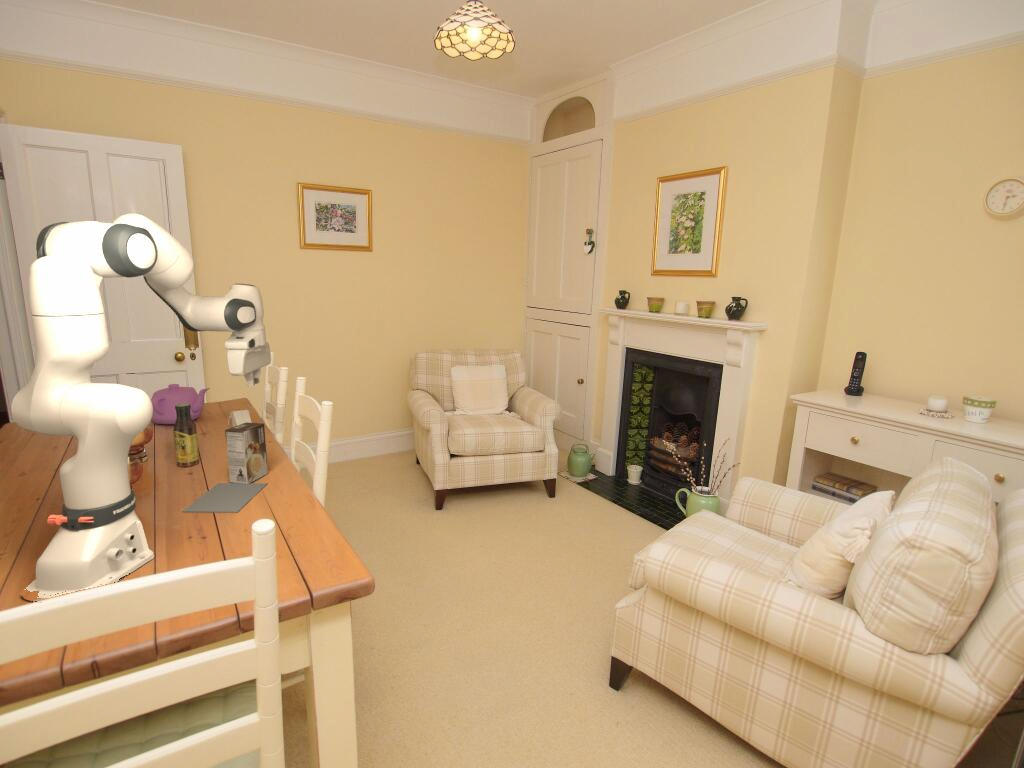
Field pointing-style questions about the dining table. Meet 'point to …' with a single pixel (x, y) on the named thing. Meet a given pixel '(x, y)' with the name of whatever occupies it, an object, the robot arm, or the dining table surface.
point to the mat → (226, 498)
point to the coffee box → (246, 452)
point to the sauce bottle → (185, 437)
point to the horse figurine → (239, 417)
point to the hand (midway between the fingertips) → (253, 384)
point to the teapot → (175, 395)
